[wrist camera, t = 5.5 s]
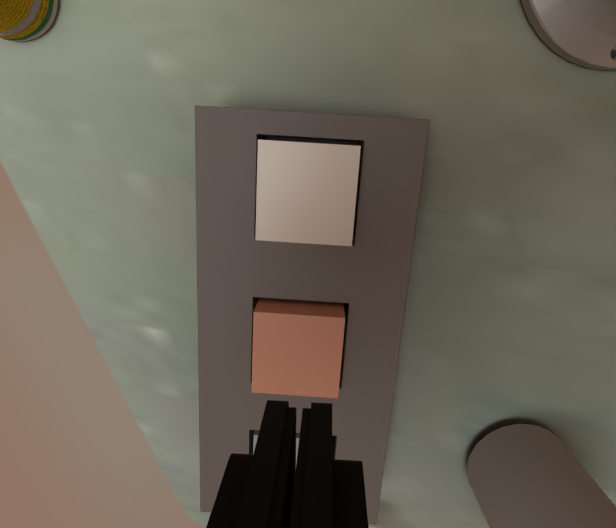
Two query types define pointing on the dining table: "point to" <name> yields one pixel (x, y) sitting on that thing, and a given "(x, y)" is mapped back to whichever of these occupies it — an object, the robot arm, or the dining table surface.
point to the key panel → (302, 280)
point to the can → (535, 482)
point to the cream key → (306, 192)
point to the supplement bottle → (26, 18)
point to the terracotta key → (297, 347)
